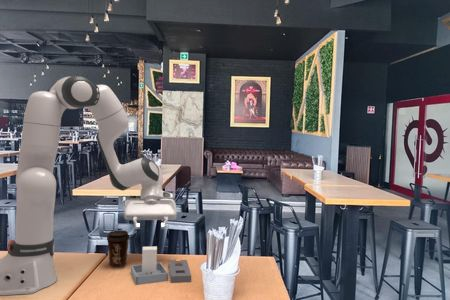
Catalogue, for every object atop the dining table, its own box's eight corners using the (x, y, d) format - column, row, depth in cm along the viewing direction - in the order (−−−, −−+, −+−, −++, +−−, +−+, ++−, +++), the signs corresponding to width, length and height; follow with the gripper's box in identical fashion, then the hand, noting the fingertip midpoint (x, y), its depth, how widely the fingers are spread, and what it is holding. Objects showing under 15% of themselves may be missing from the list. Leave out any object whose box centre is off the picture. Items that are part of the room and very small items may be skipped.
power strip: (191, 282, 123) (191, 273, 123) (170, 283, 121) (171, 274, 121) (186, 266, 138) (186, 258, 138) (168, 266, 137) (168, 258, 137)
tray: (136, 285, 119) (136, 276, 118) (130, 273, 129) (131, 265, 128) (168, 281, 123) (168, 272, 123) (160, 270, 133) (160, 262, 133)
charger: (141, 278, 124) (142, 249, 123) (141, 274, 127) (142, 246, 127) (156, 278, 125) (157, 249, 124) (155, 274, 128) (156, 246, 128)
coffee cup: (106, 262, 139) (107, 229, 138) (128, 261, 141) (129, 229, 141) (106, 270, 130) (107, 236, 130) (129, 269, 133) (130, 234, 133)
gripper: (124, 193, 138) (121, 224, 129) (176, 193, 143) (177, 223, 133) (125, 202, 143) (122, 233, 134) (175, 202, 147) (176, 232, 138)
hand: (150, 228), depth 134 cm, fingers open, 8 cm apart
